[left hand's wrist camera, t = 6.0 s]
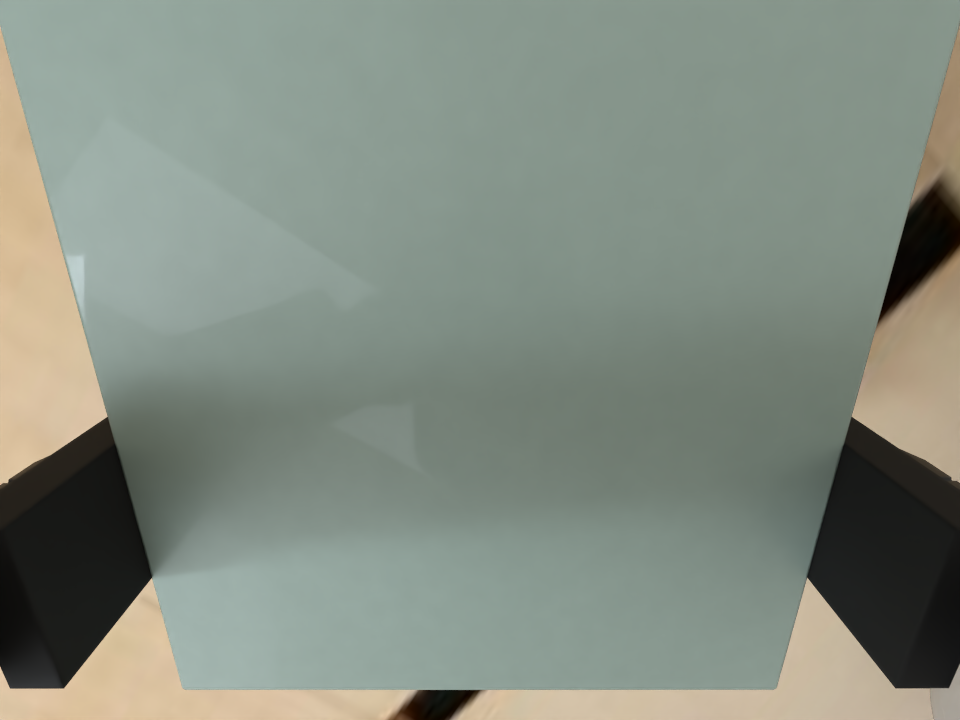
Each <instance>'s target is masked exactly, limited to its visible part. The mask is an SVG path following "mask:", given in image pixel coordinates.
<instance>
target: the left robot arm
mask: <svg viewBox="0 0 960 720" xmlns="http://www.w3.org/2000/svg"><path fill="white" fill-rule="evenodd" d="M151 578H152V575H151V572H150V568H149V564H148V561H147V557H146V554H145V550H144V546H143V543H142V539H141V535H140V532H139V528H138V525H137V521H136V517H135V514H134V510H133V506H132V503H131V499H130V495H129V492H128V488H127V485H126V481H125V477H124V474H123V470H122V466H121V463H120V459H119V456H118V452H117V448H116V445H115V441H114V437H113V434H112V430H111V426H110V423H109V419H108V417H107V418H105V419H104V420H102V421H101V422H99V423H98V424H96V425H95V426H93V427H92V428H90V429H89V430H88V431H86V432H85V433H83V434H82V435H80V436H79V437H77V438H76V439H74V440H73V441H71V442H70V443H68V444H67V445H65V446H64V447H62V448H61V449H59V450H58V451H56V452H55V453H53V454H52V455H50V456H48V457H46V458H44V459H41V460H39V461H37V462H35V463H33V464H32V465H30V466H29V467H27V468H26V469H24V470H23V471H21V472H20V473H18V474H17V475H15V476H14V477H12V478H11V479H9V482H8V483H3V484H1V485H0V667H1V669H2V671H3V673H4V676H5V678H6V680H7V682H8V685H9V687H10V688H64V687H65V686H66V685H67V684H68V682H69V681H70V680H71V679H72V677H73V676H74V675H75V674H76V672H77V671H78V670H79V669H80V667H81V666H82V665H83V664H84V662H85V661H86V660H87V659H88V657H89V656H90V655H91V654H92V652H93V651H94V650H95V649H96V647H97V646H98V645H99V644H100V642H101V641H102V640H103V638H104V637H105V636H106V635H107V633H108V632H109V631H110V630H111V628H112V627H113V626H114V625H115V623H116V622H117V621H118V620H119V618H120V617H121V616H122V615H123V613H124V612H125V611H126V610H127V608H128V607H129V606H130V605H131V603H132V602H133V601H134V600H135V598H136V597H137V596H138V595H139V593H140V592H141V591H142V589H143V588H144V587H145V586H146V584H147V583H148V582H149V581H150V579H151ZM807 578H808V579H809V580H810V581H811V583H812V584H813V585H814V586H815V588H816V589H817V590H818V591H819V593H820V594H821V595H822V597H823V598H824V599H825V600H826V602H827V603H828V604H829V605H830V607H831V608H832V609H833V610H834V612H835V613H836V614H837V615H838V617H839V618H840V619H841V620H842V622H843V623H844V624H845V625H846V627H847V628H848V629H849V630H850V632H851V633H852V634H853V635H854V637H855V638H856V639H857V640H858V642H859V643H860V644H861V646H862V647H863V648H864V649H865V651H866V652H867V653H868V654H869V656H870V657H871V658H872V659H873V661H874V662H875V663H876V664H877V666H878V667H879V668H880V669H881V671H882V672H883V673H884V674H885V676H886V677H887V678H888V679H889V681H890V682H891V683H892V684H893V686H894V687H895V688H949V687H950V685H951V683H952V680H953V678H954V676H955V674H956V671H957V669H958V667H959V665H960V483H959V482H957V481H952V480H951V477H950V476H948V475H947V474H945V473H944V472H942V471H941V470H939V469H938V468H936V467H935V466H933V465H932V464H930V463H929V462H927V461H926V460H923V459H921V458H919V457H917V456H914V455H912V454H910V453H907V452H905V451H903V450H901V449H899V448H897V447H896V446H894V445H893V444H891V443H890V442H888V441H887V440H885V439H884V438H882V437H881V436H879V435H878V434H876V433H875V432H873V431H872V430H870V429H869V428H867V427H866V426H864V425H863V424H861V423H860V422H858V421H857V420H856V419H854V418H853V417H851V420H850V424H849V427H848V431H847V435H846V438H845V442H844V445H843V449H842V453H841V456H840V460H839V464H838V467H837V471H836V474H835V478H834V482H833V485H832V489H831V493H830V496H829V500H828V503H827V507H826V511H825V514H824V518H823V522H822V525H821V529H820V532H819V536H818V540H817V543H816V547H815V551H814V554H813V558H812V561H811V565H810V569H809V572H808V576H807Z"/></svg>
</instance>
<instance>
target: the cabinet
mask: <svg viewBox="0 0 960 720" xmlns="http://www.w3.org/2000/svg"><path fill="white" fill-rule="evenodd" d="M959 25H960V0H0V27H1V31H2V34H3V38H4V42H5V45H6V49H7V52H8V56H9V60H10V63H11V67H12V71H13V74H14V78H15V82H16V85H17V89H18V92H19V96H20V100H21V103H22V107H23V111H24V114H25V118H26V121H27V125H28V129H29V132H30V136H31V140H32V143H33V147H34V151H35V154H36V158H37V161H38V165H39V169H40V172H41V176H42V180H43V183H44V187H45V190H46V194H47V198H48V201H49V205H50V209H51V212H52V216H53V220H54V223H55V227H56V230H57V234H58V238H59V241H60V245H61V249H62V252H63V256H64V259H65V263H66V267H67V270H68V274H69V278H70V281H71V285H72V288H73V292H74V296H75V299H76V303H77V307H78V310H79V314H80V318H81V321H82V325H83V328H84V332H85V336H86V339H87V343H88V347H89V350H90V354H91V357H92V361H93V365H94V368H95V372H96V376H97V379H98V383H99V387H100V390H101V394H102V397H103V401H104V405H105V408H106V412H107V416H108V419H109V423H110V426H111V430H112V434H113V437H114V441H115V445H116V448H117V452H118V456H119V459H120V463H121V466H122V470H123V474H124V477H125V481H126V485H127V488H128V492H129V495H130V499H131V503H132V506H133V510H134V514H135V517H136V521H137V525H138V528H139V532H140V535H141V539H142V543H143V546H144V550H145V554H146V557H147V561H148V564H149V568H150V572H151V575H152V579H153V583H154V586H155V590H156V594H157V597H158V601H159V604H160V608H161V612H162V615H163V619H164V623H165V626H166V630H167V633H168V637H169V641H170V644H171V648H172V652H173V655H174V659H175V663H176V666H177V670H178V673H179V677H180V681H181V684H182V688H183V689H185V690H774V689H776V688H777V685H778V681H779V677H780V674H781V670H782V667H783V663H784V659H785V656H786V652H787V648H788V645H789V641H790V638H791V634H792V630H793V627H794V623H795V619H796V616H797V612H798V609H799V605H800V601H801V598H802V594H803V590H804V587H805V583H806V580H807V576H808V572H809V569H810V565H811V561H812V558H813V554H814V551H815V547H816V543H817V540H818V536H819V532H820V529H821V525H822V522H823V518H824V514H825V511H826V507H827V503H828V500H829V496H830V493H831V489H832V485H833V482H834V478H835V474H836V471H837V467H838V464H839V460H840V456H841V453H842V449H843V445H844V442H845V438H846V435H847V431H848V427H849V424H850V420H851V416H852V413H853V409H854V406H855V402H856V398H857V395H858V391H859V387H860V384H861V380H862V377H863V373H864V369H865V366H866V362H867V358H868V355H869V351H870V348H871V344H872V340H873V337H874V333H875V329H876V326H877V322H878V319H879V315H880V311H881V308H882V304H883V300H884V297H885V293H886V290H887V286H888V282H889V279H890V275H891V271H892V268H893V264H894V261H895V257H896V253H897V250H898V246H899V242H900V239H901V235H902V232H903V228H904V224H905V221H906V217H907V213H908V210H909V206H910V203H911V199H912V195H913V192H914V188H915V184H916V181H917V177H918V174H919V170H920V166H921V163H922V159H923V155H924V152H925V148H926V145H927V141H928V137H929V134H930V130H931V126H932V123H933V119H934V116H935V112H936V108H937V105H938V101H939V97H940V94H941V90H942V87H943V83H944V79H945V76H946V72H947V68H948V65H949V61H950V58H951V54H952V50H953V47H954V43H955V39H956V36H957V32H958V29H959Z"/></svg>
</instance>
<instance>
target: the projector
mask: <svg viewBox="0 0 960 720" xmlns="http://www.w3.org/2000/svg"><path fill="white" fill-rule="evenodd" d="M930 701H931V707H932V713H933V718H934V720H960V665H959V667H958V669H957V671H956V674H955V676H954V678H953V680H952V683H951V685H950V687H949V688H930Z"/></svg>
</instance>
